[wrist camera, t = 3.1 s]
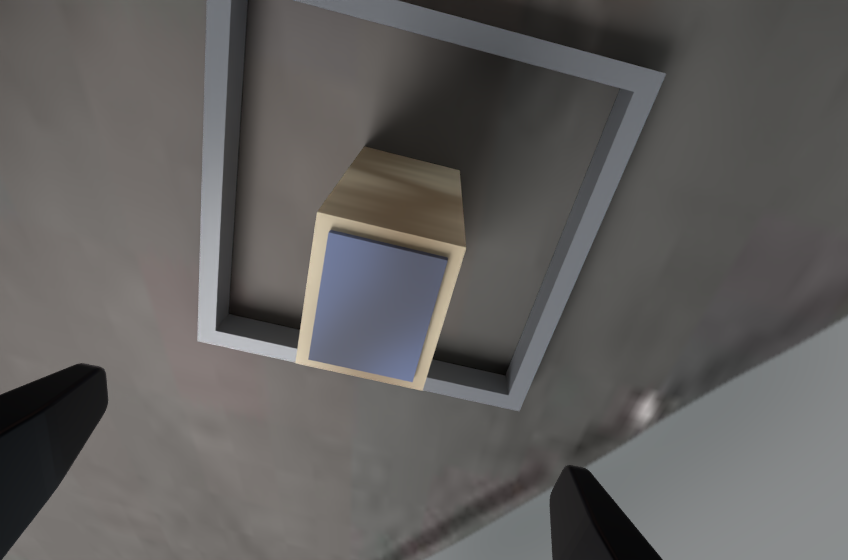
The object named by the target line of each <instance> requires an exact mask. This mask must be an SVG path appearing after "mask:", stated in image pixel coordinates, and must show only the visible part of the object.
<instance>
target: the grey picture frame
mask: <svg viewBox="0 0 848 560" xmlns="http://www.w3.org/2000/svg"><path fill="white" fill-rule="evenodd" d="M294 1H298V2H302V3H305V4H309V5H313V6H316V7H320V8H324V9H328V10H331V11H335V12H339V13H342V14H346V15H350V16H354V17H357V18H361V19H365V20H368V21H372V22H376V23H380V24H383V25H387V26H391V27H395V28H398V29H402V30H406V31H409V32H413V33H417V34H421V35H424V36H428V37H432V38H435V39H439V40H443V41H447V42H450V43H454V44H458V45H461V46H465V47H469V48H473V49H476V50H480V51H484V52H487V53H491V54H495V55H499V56H502V57H506V58H510V59H513V60H517V61H521V62H525V63H528V64H532V65H536V66H539V67H543V68H547V69H551V70H554V71H558V72H562V73H565V74H569V75H573V76H577V77H580V78H584V79H588V80H592V81H595V82H599V83H603V84H606V85H610V86H614V87H618V88H620V90H619V93H618V95H617V98H616V100H615V103H614V105H613V108H612V110H611V113H610V115H609V118H608V120H607V123H606V125H605V128H604V130H603V133H602V135H601V138H600V140H599V143H598V145H597V148H596V150H595V153H594V155H593V158H592V160H591V163H590V165H589V168H588V170H587V173H586V175H585V178H584V180H583V183H582V185H581V188H580V190H579V193H578V195H577V198H576V200H575V203H574V205H573V208H572V210H571V213H570V215H569V218H568V220H567V223H566V225H565V228H564V230H563V233H562V235H561V238H560V240H559V243H558V245H557V248H556V250H555V253H554V255H553V258H552V260H551V263H550V265H549V268H548V270H547V273H546V275H545V278H544V280H543V283H542V285H541V288H540V290H539V293H538V295H537V298H536V300H535V303H534V305H533V308H532V310H531V313H530V315H529V318H528V320H527V323H526V325H525V328H524V330H523V333H522V335H521V338H520V340H519V343H518V345H517V348H516V350H515V353H514V355H513V358H512V360H511V363H510V365H509V368H508V370H507V373H506V375H500V374H496V373H491V372H487V371H482V370H478V369H473V368H469V367H465V366H460V365H456V364H451V363H447V362H442V361H438V360H433V359H432V361H431V365H430V368H429V371H428V375H427V378H426V381H425V384H424V388H423V390H424V391H429V392H433V393H438V394H442V395H447V396H452V397H456V398H461V399H465V400H470V401H475V402H479V403H484V404H488V405H493V406H497V407H502V408H507V409H511V410H516V411H520V408H521V406H522V404H523V401H524V399H525V397H526V394H527V392H528V390H529V388H530V385H531V383H532V381H533V378H534V376H535V374H536V372H537V369H538V367H539V365H540V362H541V360H542V358H543V355H544V353H545V351H546V349H547V346H548V344H549V342H550V339H551V337H552V335H553V333H554V330H555V328H556V326H557V323H558V321H559V319H560V316H561V314H562V312H563V310H564V307H565V305H566V303H567V300H568V298H569V296H570V293H571V291H572V289H573V287H574V284H575V282H576V280H577V277H578V275H579V273H580V271H581V268H582V266H583V264H584V261H585V259H586V257H587V254H588V252H589V250H590V248H591V245H592V243H593V241H594V238H595V236H596V234H597V232H598V229H599V227H600V225H601V222H602V220H603V218H604V215H605V213H606V211H607V209H608V206H609V204H610V202H611V199H612V197H613V195H614V193H615V190H616V188H617V186H618V183H619V181H620V179H621V176H622V174H623V172H624V170H625V167H626V165H627V163H628V160H629V158H630V156H631V153H632V151H633V149H634V147H635V144H636V142H637V140H638V137H639V135H640V133H641V131H642V128H643V126H644V124H645V121H646V119H647V117H648V114H649V112H650V110H651V108H652V105H653V103H654V101H655V98H656V96H657V94H658V92H659V89H660V87H661V85H662V82H663V80H664V78H665V75H666V73H662V72H659V71H655V70H651V69H648V68H644V67H640V66H637V65H633V64H629V63H626V62H622V61H618V60H615V59H611V58H607V57H604V56H600V55H596V54H593V53H589V52H585V51H582V50H578V49H574V48H571V47H567V46H563V45H560V44H556V43H552V42H549V41H545V40H541V39H538V38H534V37H530V36H527V35H523V34H519V33H516V32H512V31H508V30H505V29H501V28H497V27H494V26H490V25H486V24H483V23H479V22H475V21H472V20H468V19H464V18H461V17H457V16H453V15H450V14H446V13H442V12H439V11H435V10H431V9H428V8H424V7H420V6H417V5H413V4H409V3H406V2H402V1H398V0H294ZM247 5H248V0H207V11H206V48H205V85H204V121H203V158H202V194H201V231H200V268H199V304H198V341H199V342H204V343H209V344H213V345H218V346H222V347H227V348H232V349H236V350H241V351H245V352H250V353H254V354H259V355H264V356H268V357H273V358H277V359H282V360H287V361H291V362H296V355H297V348H298V341H299V334H300V330H298V329H294V328H290V327H285V326H281V325H276V324H272V323H267V322H263V321H258V320H254V319H249V318H245V317H240V316H236V315H231V314H229V298H230V282H231V265H232V249H233V233H234V217H235V200H236V184H237V168H238V151H239V135H240V119H241V103H242V86H243V70H244V54H245V37H246V21H247Z"/></svg>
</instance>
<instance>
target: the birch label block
mask: <svg viewBox="0 0 848 560" xmlns="http://www.w3.org/2000/svg"><path fill="white" fill-rule="evenodd" d="M465 250H466V238H465V227H464V215H463V203H462V192H461V180H460V170H456V169H452V168H448V167H444V166H440V165H436V164H432V163H428V162H424V161H421V160H417V159H413V158H409V157H405V156H401V155H397V154H393V153H389V152H385V151H381V150H377V149H373V148H369V147H365V146H364V147H363V149H362V150H361V152H360V153H359V154H358V156H357V157H356V159H355V160H354V161H353V163H352V164H351V165H350V167H349V168H348V170H347V171H346V172H345V174H344V175H343V177H342V178H341V179H340V181H339V182H338V184H337V185H336V186H335V188H334V189H333V191H332V192H331V193H330V195H329V196H328V198H327V199H326V200H325V202H324V203H323V204H322V206H321V207H320V209H319V210H318V211H317V217H316V223H315V230H314V237H313V244H312V251H311V258H310V265H309V272H308V279H307V286H306V293H305V300H304V307H303V313H302V320H301V327H300V334H299V341H298V348H297V355H296V362H295V363H297V364H302V365H306V366H311V367H316V368H320V369H325V370H329V371H334V372H339V373H343V374H348V375H352V376H357V377H362V378H366V379H371V380H375V381H380V382H385V383H389V384H394V385H398V386H403V387H408V388H412V389H417V390H422V391H423V388H424V384H425V381H426V378H427V375H428V371H429V368H430V365H431V361H432V358H433V355H434V352H435V348H436V345H437V342H438V339H439V335H440V332H441V329H442V325H443V322H444V319H445V316H446V312H447V309H448V306H449V303H450V299H451V296H452V293H453V290H454V286H455V283H456V280H457V276H458V273H459V270H460V267H461V263H462V260H463V257H464V254H465Z"/></svg>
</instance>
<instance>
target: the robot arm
mask: <svg viewBox="0 0 848 560" xmlns="http://www.w3.org/2000/svg"><path fill="white" fill-rule="evenodd" d="M107 405H108V391H107V380H106V372H105V370H104V369H103V368H101V367H99V366H94V365H89V364H84V363H80V364H76V365H73V366H71V367H68V368H66V369H63V370H61V371H58V372H56V373H53V374H51V375H48V376H46V377H43V378H41V379H38V380H36V381H33V382H31V383H28V384H26V385H23V386H21V387H18V388H16V389H13V390H11V391H8V392H6V393H3V394H1V395H0V560H2V559H3V558H4V556H5V555H6V554H7V552H8V551H9V550H10V548H11V547H12V546H13V545H14V543H15V542H16V541H17V539H18V538H19V537H20V536H21V534H22V533H23V532H24V530H25V529H26V528H27V527H28V525H29V524H30V523H31V521H32V520H33V519H34V517H35V516H36V515H37V514H38V512H39V511H40V510H41V508H42V507H43V506H44V505H45V503H46V502H47V501H48V499H49V498H50V497H51V495H52V494H53V493H54V491H55V490H56V489H57V487H58V486H59V484H60V483H61V481H62V480H63V478H64V477H65V475H66V474H67V472H68V470H69V469H70V467H71V466H72V464H73V462H74V461H75V459H76V458H77V456H78V454H79V453H80V451H81V450H82V448H83V446H84V445H85V443H86V442H87V440H88V438H89V437H90V435H91V434H92V432H93V430H94V429H95V427H96V426H97V424H98V422H99V421H100V419H101V418H102V416H103V414H104V413H105V411H106V408H107ZM550 520H551V539H552V557H553V560H662V558H661V557H660V556H659V555H658V553H657V552H656V551H655V550H654V549H653V547H652V546H651V545H650V544H649V543H648V541H647V540H646V539H645V538H644V536H642V534H641V533H640V532H639V530H638V529H637V528H636V527H635V526H634V524H633V523H632V522H631V521H630V519H629V518H628V517H627V516H626V515H625V513H624V512H623V511H622V510H621V509H620V508H619V506H618V505H617V504H616V503H615V501H614V500H613V499H612V498H611V496H610V495H609V494H608V493H607V492H606V491H605V489H604V488H603V487H602V486H601V484H600V483H599V482H598V481H597V480H596V478H595V477H594V476H593V475H592V473H591V472H590V471H589V470H587V469H586V468H582V467H577V466H573V465H567V466H566V467H564V469H563V470H562V472H561V474H560V476H559V478H558V480H557V482H556V484H555V486H554V488H553V490H552V492H551V495H550Z"/></svg>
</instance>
